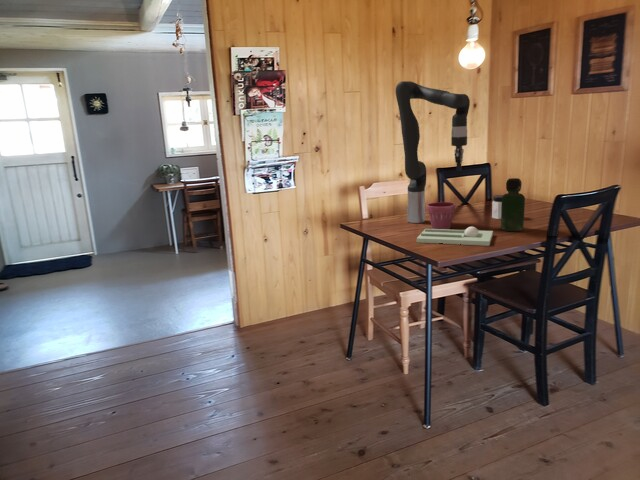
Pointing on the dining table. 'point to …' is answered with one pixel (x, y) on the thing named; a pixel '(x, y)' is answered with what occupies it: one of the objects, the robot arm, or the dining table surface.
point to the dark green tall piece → (513, 207)
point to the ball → (471, 232)
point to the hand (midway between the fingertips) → (458, 170)
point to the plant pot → (441, 214)
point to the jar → (496, 206)
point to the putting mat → (454, 237)
